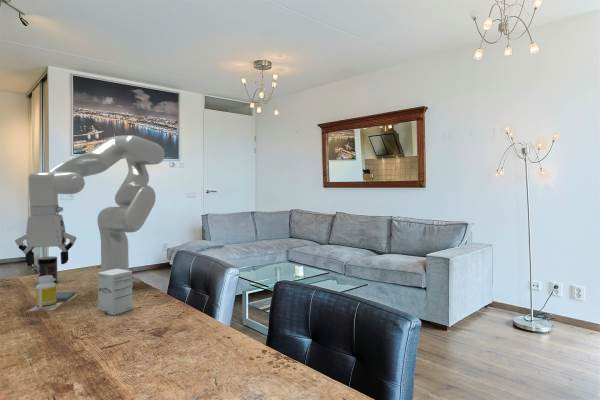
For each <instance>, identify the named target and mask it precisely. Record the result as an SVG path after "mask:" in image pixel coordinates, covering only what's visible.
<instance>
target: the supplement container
mask: <svg viewBox="0 0 600 400" xmlns="http://www.w3.org/2000/svg"><path fill="white" fill-rule="evenodd" d="M47 275H52V276H53V281H52V282H54V283H55V284H56V283H58V276H59V275H58V257H57V256H54V255H53V256H51V255H50V256H42V257H38V258H37V279H38V278H39V277H41V276H47ZM37 284H39V282H38V281H37Z"/></svg>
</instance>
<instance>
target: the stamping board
mask: <svg viewBox="0 0 600 400" xmlns="http://www.w3.org/2000/svg"><path fill="white" fill-rule="evenodd" d="M76 296H77V294H75V295H74V296H73V297H72V298H71V299H69V300H68V301H67V302H56V306H54V307H52V308H47V309H38V308H37V306H36V303H35V304H34V305H33V306H30V308H28V309H26V310H25V311H24V312H23V313H24V314H25V313H41V312H55V311H58V310H60V308H62V307H63V306H64V305H66V304H67V303H68V302H69V301H71V300H72V299H74V298H75V297H76Z"/></svg>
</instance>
